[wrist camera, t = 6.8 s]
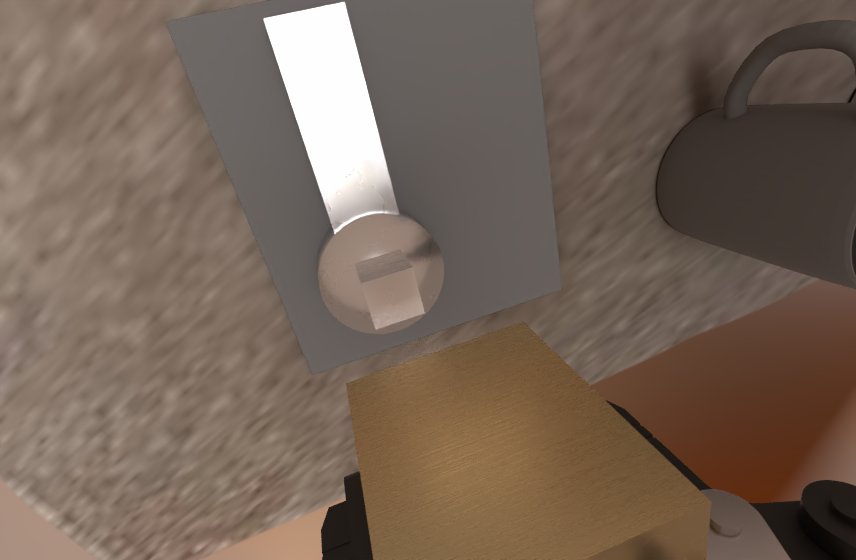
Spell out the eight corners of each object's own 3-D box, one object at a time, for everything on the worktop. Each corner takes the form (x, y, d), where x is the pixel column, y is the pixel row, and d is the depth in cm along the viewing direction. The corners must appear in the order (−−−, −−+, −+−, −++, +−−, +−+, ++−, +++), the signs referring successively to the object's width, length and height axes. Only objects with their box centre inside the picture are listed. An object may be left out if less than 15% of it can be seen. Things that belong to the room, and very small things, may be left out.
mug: (766, 195, 33) (992, 235, 22) (668, 257, 32) (849, 329, 22) (742, 9, 27) (1037, -61, 16) (622, 83, 26) (841, 62, 16)
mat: (522, -48, 22) (528, -52, 22) (557, 286, 31) (562, 289, 30) (169, 24, 20) (165, 21, 19) (312, 370, 28) (312, 375, 27)
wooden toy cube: (522, 321, 12) (711, 501, 6) (541, 452, 14) (696, 672, 8) (345, 383, 11) (386, 649, 5) (394, 512, 13) (458, 798, 8)
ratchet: (374, 4, 21) (396, -30, 16) (442, 295, 28) (472, 335, 23) (230, 34, 20) (206, 8, 15) (338, 330, 27) (345, 379, 22)
